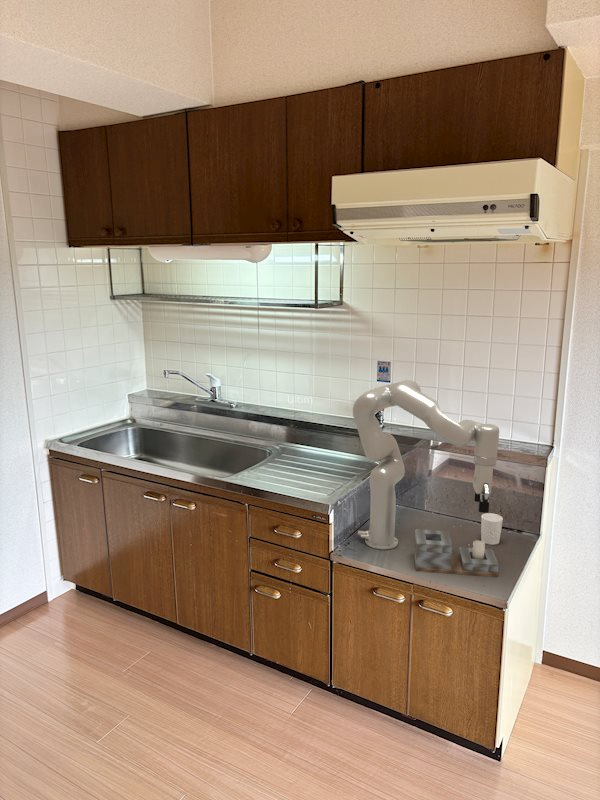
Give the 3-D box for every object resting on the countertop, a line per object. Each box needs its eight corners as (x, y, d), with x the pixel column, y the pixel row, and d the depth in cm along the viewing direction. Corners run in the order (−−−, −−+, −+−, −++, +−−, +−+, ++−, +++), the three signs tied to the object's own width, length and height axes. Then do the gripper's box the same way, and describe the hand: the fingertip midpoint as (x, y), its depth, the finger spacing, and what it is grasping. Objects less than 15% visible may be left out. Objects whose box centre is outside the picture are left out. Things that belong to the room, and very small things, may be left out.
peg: (472, 565, 216) (474, 544, 214) (470, 560, 220) (472, 540, 218) (484, 566, 216) (485, 545, 214) (482, 561, 219) (484, 540, 218)
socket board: (415, 571, 214) (417, 544, 212) (413, 553, 228) (415, 528, 226) (498, 576, 210) (500, 550, 208) (491, 558, 224) (493, 532, 222)
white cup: (484, 535, 244) (486, 511, 242) (503, 540, 239) (505, 516, 237) (476, 541, 238) (478, 517, 236) (496, 547, 233) (498, 523, 231)
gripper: (470, 452, 219) (466, 497, 222) (477, 467, 202) (473, 515, 206) (492, 453, 218) (488, 498, 221) (501, 468, 201) (496, 517, 205)
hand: (481, 506), depth 213 cm, fingers open, 9 cm apart
